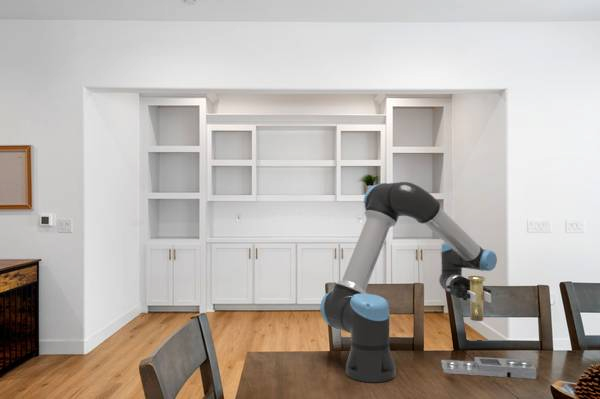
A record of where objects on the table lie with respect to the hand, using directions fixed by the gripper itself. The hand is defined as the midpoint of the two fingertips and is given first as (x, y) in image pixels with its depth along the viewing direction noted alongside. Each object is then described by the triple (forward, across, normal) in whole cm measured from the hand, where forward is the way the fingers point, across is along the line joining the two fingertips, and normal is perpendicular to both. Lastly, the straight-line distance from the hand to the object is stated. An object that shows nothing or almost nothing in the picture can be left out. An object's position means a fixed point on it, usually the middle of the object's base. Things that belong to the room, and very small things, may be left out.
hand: (482, 298), depth 145 cm
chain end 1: (+4, +5, -22) cm, 22 cm away
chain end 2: (+6, -4, -21) cm, 23 cm away
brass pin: (-5, 0, -8) cm, 10 cm away
